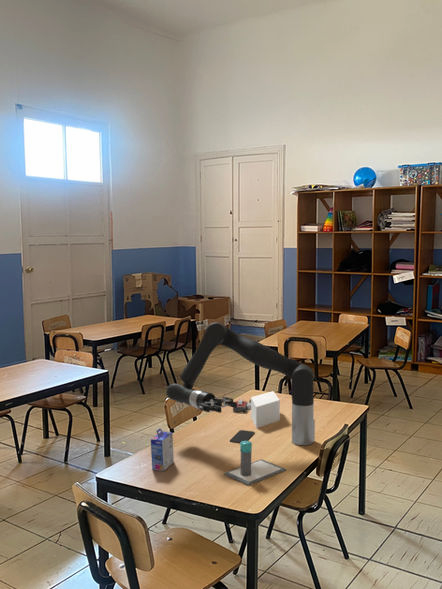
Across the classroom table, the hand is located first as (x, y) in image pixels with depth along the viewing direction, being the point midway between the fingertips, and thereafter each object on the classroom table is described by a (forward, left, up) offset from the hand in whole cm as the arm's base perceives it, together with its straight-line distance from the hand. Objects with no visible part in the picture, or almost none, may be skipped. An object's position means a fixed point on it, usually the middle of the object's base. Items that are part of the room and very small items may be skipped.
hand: (228, 407), depth 230 cm
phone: (-21, -14, -22) cm, 33 cm away
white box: (-47, -25, -21) cm, 57 cm away
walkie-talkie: (-52, -46, -22) cm, 73 cm away
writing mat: (+2, +17, -21) cm, 27 cm away
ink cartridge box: (+24, -12, -21) cm, 34 cm away
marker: (+7, +17, -20) cm, 27 cm away
